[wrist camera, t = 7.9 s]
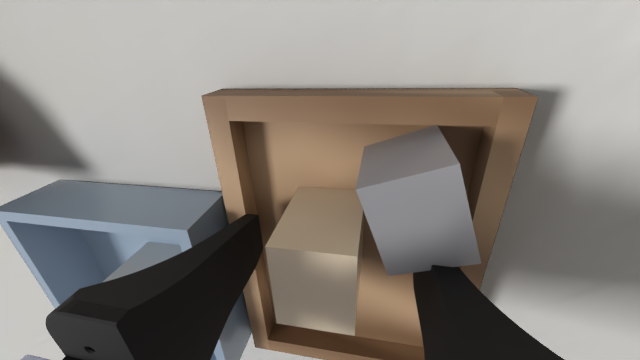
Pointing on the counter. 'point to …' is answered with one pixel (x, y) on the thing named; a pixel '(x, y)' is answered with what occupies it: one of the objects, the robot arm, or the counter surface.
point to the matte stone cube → (417, 203)
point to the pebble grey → (146, 258)
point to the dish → (113, 236)
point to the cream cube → (317, 260)
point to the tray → (342, 173)
